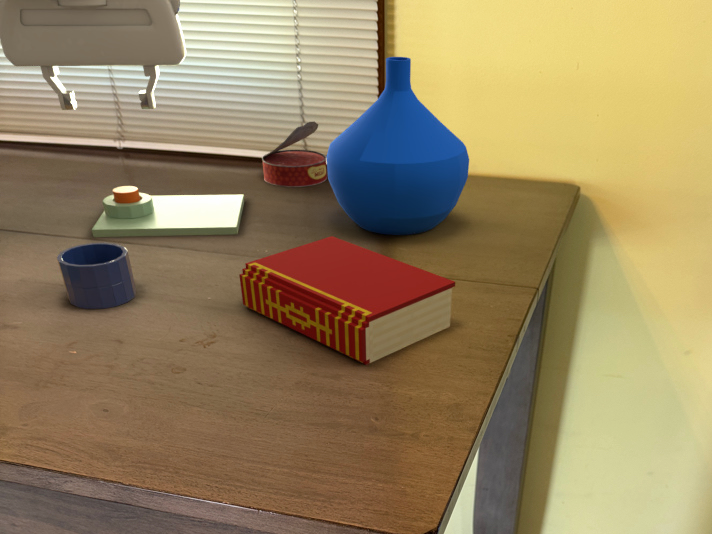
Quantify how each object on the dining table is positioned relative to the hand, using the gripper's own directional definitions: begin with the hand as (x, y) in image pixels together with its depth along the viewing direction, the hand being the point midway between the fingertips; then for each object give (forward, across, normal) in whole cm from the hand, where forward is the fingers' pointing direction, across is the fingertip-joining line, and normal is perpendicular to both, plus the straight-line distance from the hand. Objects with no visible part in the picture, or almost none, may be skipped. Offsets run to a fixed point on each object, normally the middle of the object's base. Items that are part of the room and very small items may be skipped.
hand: (109, 108), depth 92 cm
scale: (+14, -5, -1) cm, 15 cm away
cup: (+14, -1, +25) cm, 29 cm away
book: (+14, -27, +32) cm, 44 cm away
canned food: (+14, -21, -21) cm, 33 cm away
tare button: (+11, 0, -1) cm, 11 cm away
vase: (+14, -35, +2) cm, 38 cm away
